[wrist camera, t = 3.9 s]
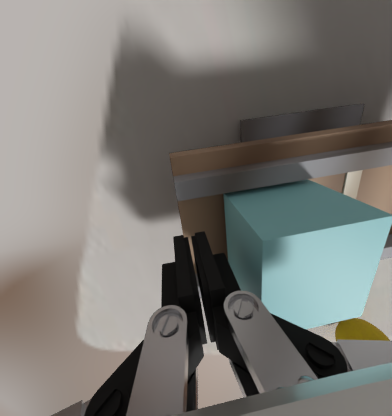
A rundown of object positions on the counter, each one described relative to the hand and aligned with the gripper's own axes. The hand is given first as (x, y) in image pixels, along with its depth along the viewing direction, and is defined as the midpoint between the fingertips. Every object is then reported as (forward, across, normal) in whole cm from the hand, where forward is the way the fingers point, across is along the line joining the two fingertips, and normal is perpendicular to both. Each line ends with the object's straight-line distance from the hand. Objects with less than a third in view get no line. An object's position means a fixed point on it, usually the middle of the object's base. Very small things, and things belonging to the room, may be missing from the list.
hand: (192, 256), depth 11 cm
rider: (+2, -5, 0) cm, 5 cm away
